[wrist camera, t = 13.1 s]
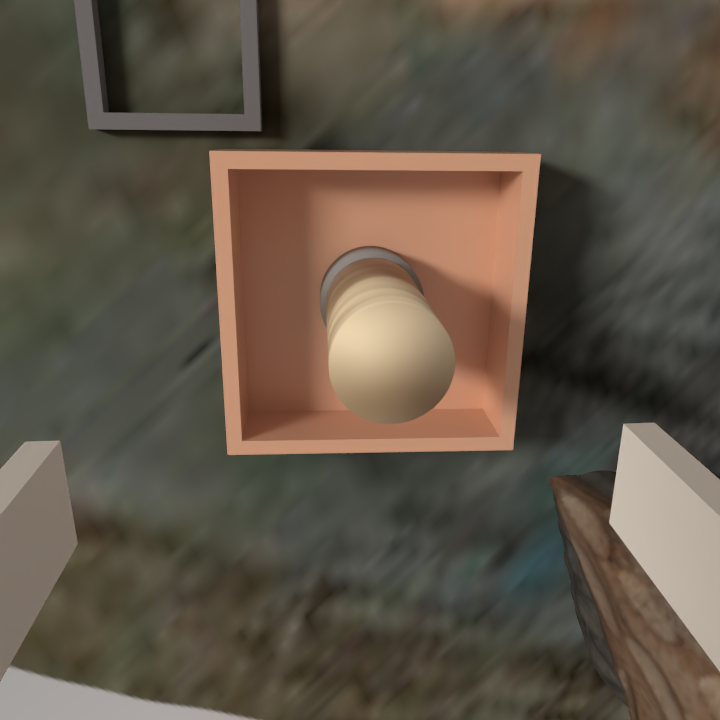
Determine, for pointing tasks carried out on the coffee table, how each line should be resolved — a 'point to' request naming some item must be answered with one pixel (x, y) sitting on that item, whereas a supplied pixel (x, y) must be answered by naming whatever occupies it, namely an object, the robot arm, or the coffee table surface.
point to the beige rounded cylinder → (383, 337)
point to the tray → (357, 229)
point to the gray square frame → (167, 121)
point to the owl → (629, 613)
